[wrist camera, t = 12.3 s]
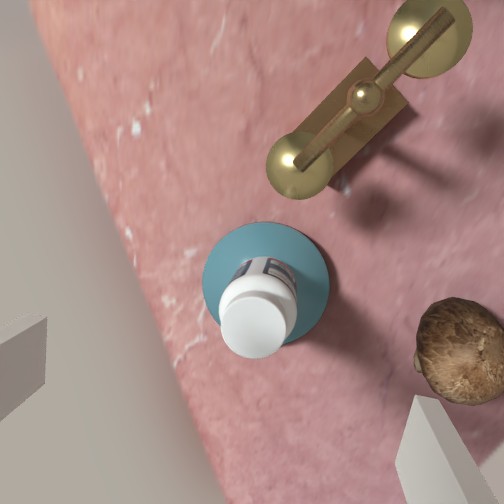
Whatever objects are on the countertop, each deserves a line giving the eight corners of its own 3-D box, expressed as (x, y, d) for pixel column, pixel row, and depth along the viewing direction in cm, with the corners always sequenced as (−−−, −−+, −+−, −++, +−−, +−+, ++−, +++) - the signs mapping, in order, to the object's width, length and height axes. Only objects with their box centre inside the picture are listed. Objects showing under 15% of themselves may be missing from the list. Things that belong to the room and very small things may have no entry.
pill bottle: (237, 319, 33) (214, 371, 24) (229, 258, 32) (202, 290, 23) (300, 314, 32) (300, 367, 23) (294, 252, 31) (292, 282, 22)
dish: (182, 265, 34) (177, 269, 32) (282, 196, 31) (281, 196, 30) (251, 360, 34) (249, 367, 33) (353, 299, 32) (355, 304, 31)
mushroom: (396, 410, 30) (463, 422, 25) (377, 307, 32) (435, 297, 26) (471, 392, 33) (546, 400, 28) (449, 299, 35) (516, 288, 29)
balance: (388, 35, 28) (453, -66, 16) (430, 80, 28) (523, 12, 16) (262, 166, 31) (238, 161, 19) (300, 205, 31) (300, 225, 19)
